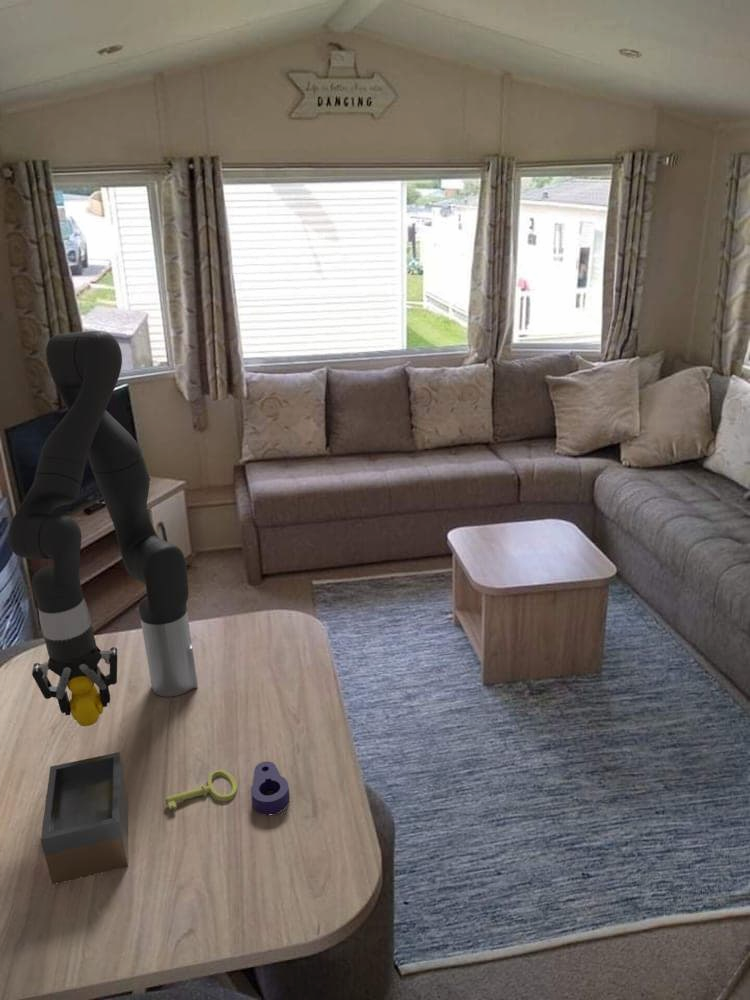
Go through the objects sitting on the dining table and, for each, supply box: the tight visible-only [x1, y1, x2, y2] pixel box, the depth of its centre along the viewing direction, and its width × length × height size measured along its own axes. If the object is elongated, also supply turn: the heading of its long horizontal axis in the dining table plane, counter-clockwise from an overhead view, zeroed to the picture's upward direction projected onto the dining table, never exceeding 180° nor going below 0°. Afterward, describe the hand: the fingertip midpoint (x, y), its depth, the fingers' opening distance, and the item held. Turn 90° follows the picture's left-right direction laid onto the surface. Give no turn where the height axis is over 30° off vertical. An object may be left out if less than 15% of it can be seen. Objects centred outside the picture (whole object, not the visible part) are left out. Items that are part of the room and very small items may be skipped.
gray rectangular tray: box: [40, 751, 129, 886], centre depth 122 cm, size 11×16×9 cm
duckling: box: [67, 676, 104, 727], centre depth 132 cm, size 11×5×10 cm, turn 22°
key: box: [165, 769, 239, 811], centre depth 131 cm, size 7×12×2 cm, turn 135°
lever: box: [250, 760, 291, 816], centre depth 132 cm, size 12×6×3 cm, turn 15°
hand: (86, 708), depth 133 cm, fingers closed on duckling, 5 cm apart
